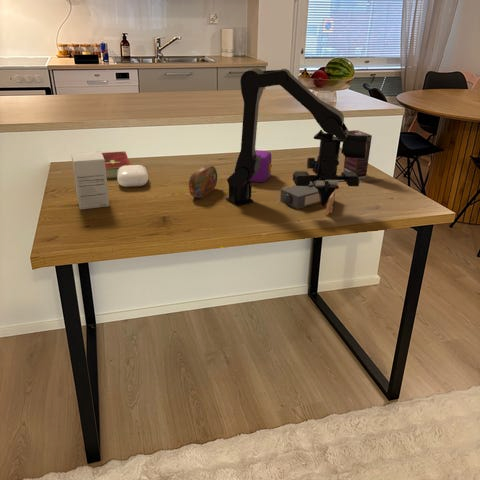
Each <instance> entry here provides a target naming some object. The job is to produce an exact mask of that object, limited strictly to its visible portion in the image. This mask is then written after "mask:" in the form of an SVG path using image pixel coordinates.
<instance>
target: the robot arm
mask: <svg viewBox="0 0 480 480" xmlns="http://www.w3.org/2000/svg"><path fill="white" fill-rule="evenodd" d="M274 86H275V87H276V86H280V87H282V89H283V90H285V91H286V93H288V94H289V95H290V96H292V98H294V99H295V100H296V101H298V102H299V103H300V105H302V106H303V107H304V108H305V109H306V110H307V111H308V112H309V113H310V114H311V115H312V117H313V118H314V119H315V121H316V123H317V124H318V125H319V126H320V127H319V128H321V129H320V130H319V131H318V132H317V133H315V134H314V136H313V139H314V140H319V147H318V148H319V150H318V155H317V159H316V158H315V157H307V162H306V168H307V169H309V170H311V169H312V173H314V174H309V172H308V171H306V170H304V171H303V170H302V171H298V170H297V171H295V172H293V174H292V181H293V183H294V184H295V185H294V186H308V185H309V184H310V182H312V184H313V185H314V187H315V188H316V189H318V192H319V197H320V201H321V203H320V205H321V207H324V206H325V205H327V202H328V201H327V200H328V199H329V197H330V196H331V194H332V193H333V192H334V191H335V189H336V190H339V188H340V187H339V185H338V184H339V183H345V184H346V185H347V186H348V187H359V186H360V181H361V179H359V177H358V176H357V175H356V174H355V173H354V172H343V171H342V172H341V174H340V175H339V174H337V172H338V166H339V165H340V161H339V157H340V149H341V154H343V156H344V158H345V157H346V158H355V159H364V160H365V155H366V149H367V137H368V135H365V134H362V135H358V134H349V131H350V130H349V129H348V127H347V126H346V124H345V116H344V114H343V112H342V111H341V110H339V109H337V108H336V107H335V106H333V105H332V104H329V103H327V102H325V101H323V100H322V99H320V98H319V97H318V96H316V94H314V93H313V92H312V91H311V90H310V89H309V88H308V87H307V86H305V85H304V84H303V82H301V81H300V80H299V79H297V77H295V76H294V75H293V74H292V73H291V72H290V70H289V69H288V68H282V69H275V70H273V69H270V70H262V69H260V68H257V67H253V68H251V69H249V70H247V71H244V73H242V75H241V76H240V90H241V92H240V93H241V98H242V101H243V113H242V127H241V128H242V129H241V143H240V151H239V154H238V157H237V159H236V163H235V168H234V172H233V173H231V175H229V177H228V178H227V179H226V180H227V183H228V197H225V200H226V201H227V202H230V203H231V204H233V205H235V206H242V205H245V204H249V203H253V202H254V199H252V187H253V186H252V185H251V184H252V181H249V180H250V179H251V178H252V177H253V176H254V175H255V173H256V172H257V170H258V169H259V168H260V163H259V162H260V158H261V155H256V151H255V150H256V143H257V142H256V141H257V129H258V119H259V118H258V117H259V109H260V108H259V106H260V101H261V98H262V95H263V92H264V90H265V89H264V88H267V87H274ZM341 143H342V145H341ZM335 192H336V191H335Z"/></svg>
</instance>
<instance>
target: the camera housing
mask: <svg viewBox="0 0 480 480" xmlns="http://www.w3.org/2000/svg"><path fill="white" fill-rule="evenodd" d="M328 200H329V199H328ZM328 200H327V202H328ZM279 201H280V202H282V203H283V204H285V205H288V206H290V207H292V208H294V209H297V210H298V209H302V208H305V207H309V206H314V205H317V204H321V201H320V197H319V192H318V189H316V188H315V187H314V185H313V184H312V182H310V184H309V185H308V186H296V185H291V186H289V187H284V188H280V200H279Z"/></svg>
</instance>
